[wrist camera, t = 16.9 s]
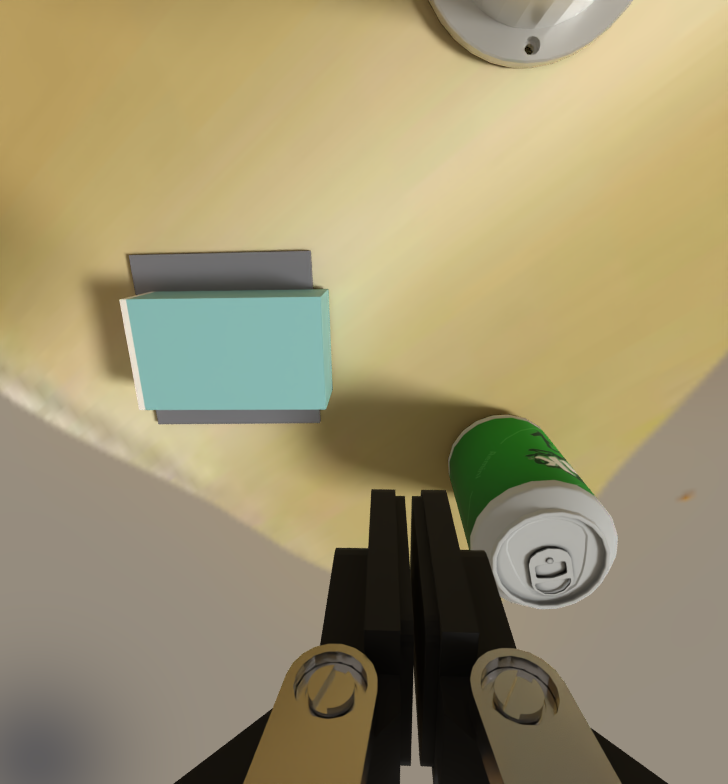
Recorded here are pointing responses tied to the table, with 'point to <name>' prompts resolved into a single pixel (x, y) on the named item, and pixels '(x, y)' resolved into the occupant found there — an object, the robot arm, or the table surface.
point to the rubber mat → (226, 276)
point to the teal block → (230, 349)
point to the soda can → (530, 513)
